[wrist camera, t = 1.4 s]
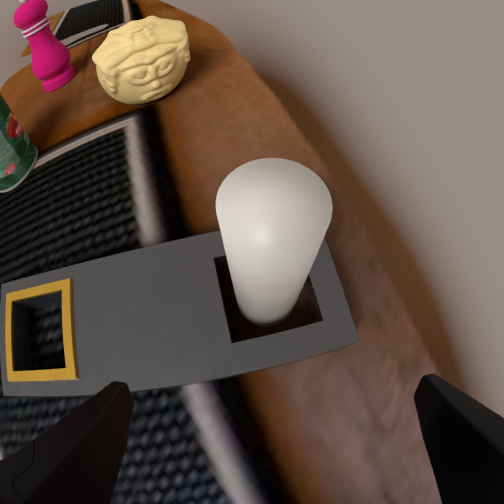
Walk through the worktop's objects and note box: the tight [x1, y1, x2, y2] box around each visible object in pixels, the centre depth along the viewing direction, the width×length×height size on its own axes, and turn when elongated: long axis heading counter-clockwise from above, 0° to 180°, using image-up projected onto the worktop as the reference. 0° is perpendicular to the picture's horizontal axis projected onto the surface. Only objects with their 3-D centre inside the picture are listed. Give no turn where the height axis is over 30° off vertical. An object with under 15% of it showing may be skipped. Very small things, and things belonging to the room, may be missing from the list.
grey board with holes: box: [0, 230, 359, 397], centre depth 20 cm, size 28×10×3 cm, turn 103°
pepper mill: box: [14, 0, 75, 92], centre depth 29 cm, size 7×7×20 cm
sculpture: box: [92, 16, 191, 105], centre depth 29 cm, size 12×12×11 cm
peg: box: [216, 158, 333, 327], centre depth 16 cm, size 4×4×12 cm
